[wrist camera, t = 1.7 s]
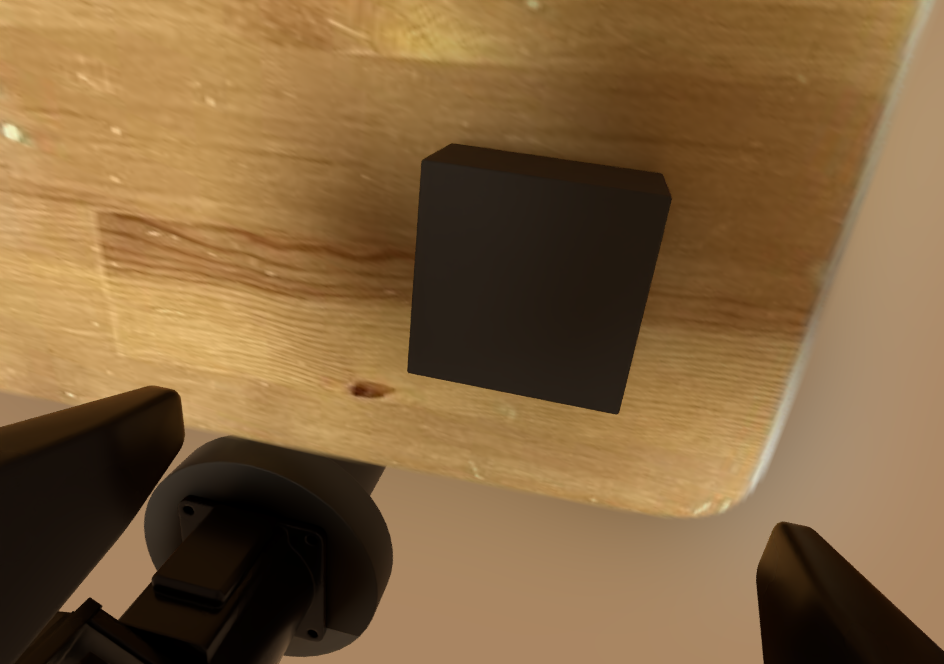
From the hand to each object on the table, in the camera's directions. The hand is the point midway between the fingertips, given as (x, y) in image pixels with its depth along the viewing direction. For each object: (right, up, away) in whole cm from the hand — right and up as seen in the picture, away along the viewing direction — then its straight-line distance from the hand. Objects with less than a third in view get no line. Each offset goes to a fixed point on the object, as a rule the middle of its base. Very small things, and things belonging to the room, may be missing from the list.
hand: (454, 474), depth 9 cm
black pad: (+2, +4, +9) cm, 11 cm away
